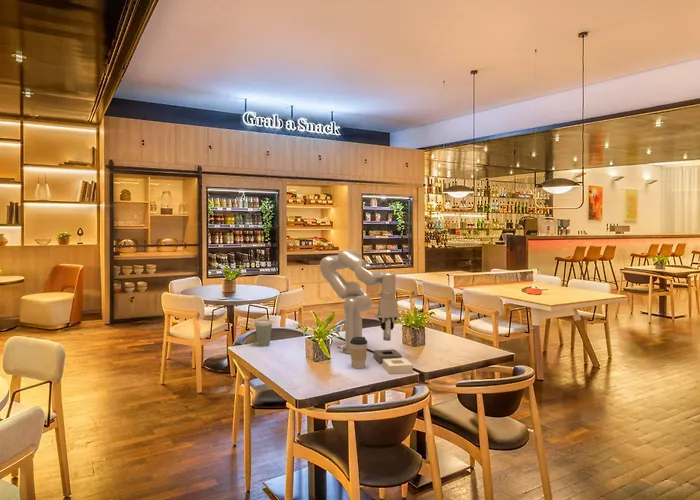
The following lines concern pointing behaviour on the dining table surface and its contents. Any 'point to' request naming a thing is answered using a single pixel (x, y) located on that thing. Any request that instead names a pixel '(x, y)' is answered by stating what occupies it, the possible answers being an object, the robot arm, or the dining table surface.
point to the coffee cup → (358, 352)
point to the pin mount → (385, 355)
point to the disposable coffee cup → (263, 331)
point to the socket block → (397, 366)
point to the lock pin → (387, 329)
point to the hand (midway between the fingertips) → (387, 329)
